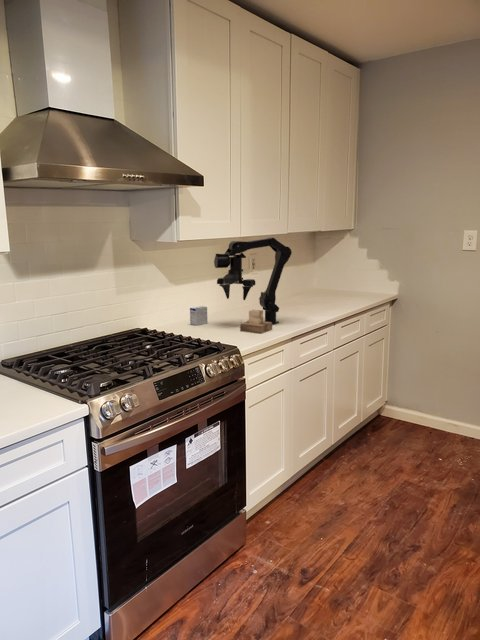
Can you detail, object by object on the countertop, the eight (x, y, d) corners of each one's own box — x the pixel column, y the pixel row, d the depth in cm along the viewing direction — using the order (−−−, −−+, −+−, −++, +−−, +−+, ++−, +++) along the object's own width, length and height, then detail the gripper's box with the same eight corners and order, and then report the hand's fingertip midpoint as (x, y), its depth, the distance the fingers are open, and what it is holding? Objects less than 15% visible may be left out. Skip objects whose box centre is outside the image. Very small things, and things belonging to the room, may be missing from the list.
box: (201, 322, 260) (201, 305, 258) (207, 323, 257) (207, 306, 255) (189, 324, 254) (189, 307, 253) (195, 325, 251) (195, 308, 250)
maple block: (253, 321, 244) (253, 309, 243) (263, 322, 241) (263, 309, 240) (248, 323, 240) (248, 310, 238) (258, 324, 237) (258, 311, 236)
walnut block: (252, 328, 248) (252, 320, 248) (272, 330, 243) (272, 322, 242) (240, 332, 239) (240, 323, 239) (260, 334, 234) (260, 326, 233)
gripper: (210, 267, 244) (211, 300, 247) (244, 269, 235) (244, 303, 238) (222, 266, 254) (223, 297, 257) (256, 267, 245) (255, 300, 248)
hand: (236, 299), depth 250 cm, fingers open, 9 cm apart
